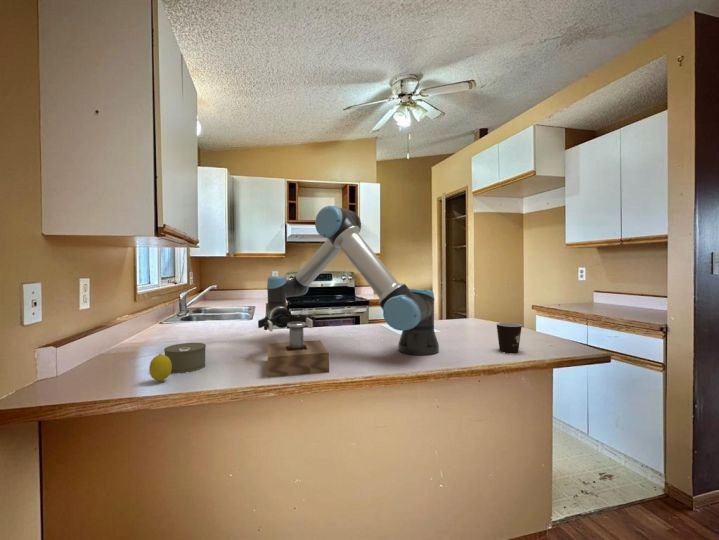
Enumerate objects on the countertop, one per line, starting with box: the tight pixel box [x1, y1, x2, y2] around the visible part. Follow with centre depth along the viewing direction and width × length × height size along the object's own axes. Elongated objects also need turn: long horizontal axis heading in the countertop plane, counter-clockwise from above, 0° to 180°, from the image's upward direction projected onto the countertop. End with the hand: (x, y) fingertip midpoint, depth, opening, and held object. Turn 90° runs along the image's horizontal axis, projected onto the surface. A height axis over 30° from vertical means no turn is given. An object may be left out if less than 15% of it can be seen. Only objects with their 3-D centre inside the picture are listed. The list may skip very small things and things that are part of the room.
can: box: [163, 342, 207, 374], centre depth 113 cm, size 12×12×7 cm
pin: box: [286, 322, 307, 351], centre depth 114 cm, size 6×6×14 cm
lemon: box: [148, 353, 172, 383], centre depth 100 cm, size 6×6×8 cm
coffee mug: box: [496, 322, 523, 354], centre depth 132 cm, size 12×9×10 cm
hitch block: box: [267, 339, 330, 378], centre depth 114 cm, size 18×18×6 cm
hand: (291, 325), depth 119 cm, fingers open, 13 cm apart
